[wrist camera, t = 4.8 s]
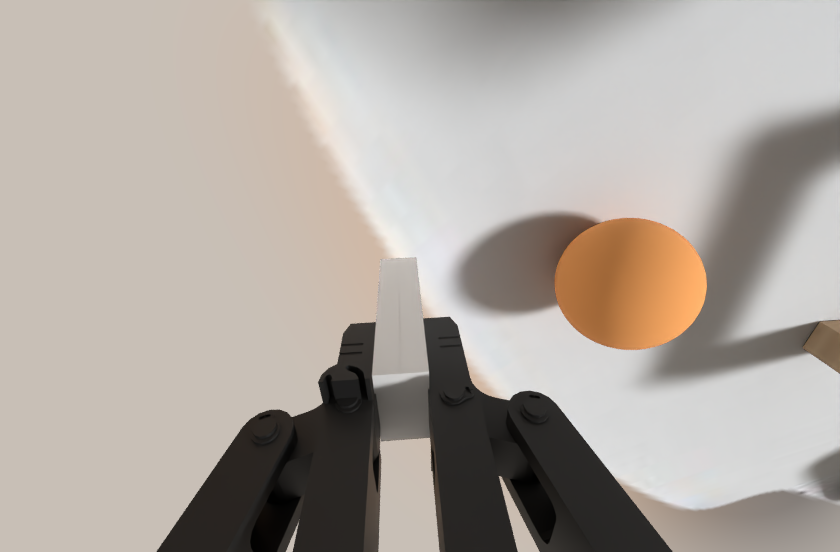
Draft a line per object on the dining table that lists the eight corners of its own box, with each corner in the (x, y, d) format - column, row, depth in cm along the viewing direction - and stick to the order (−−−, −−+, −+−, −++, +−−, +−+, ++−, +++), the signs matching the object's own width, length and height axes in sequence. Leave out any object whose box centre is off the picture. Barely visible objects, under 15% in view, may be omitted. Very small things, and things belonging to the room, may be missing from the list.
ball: (545, 203, 16) (608, 260, 11) (665, 196, 16) (776, 250, 12) (530, 303, 19) (576, 383, 14) (632, 297, 19) (711, 374, 14)
